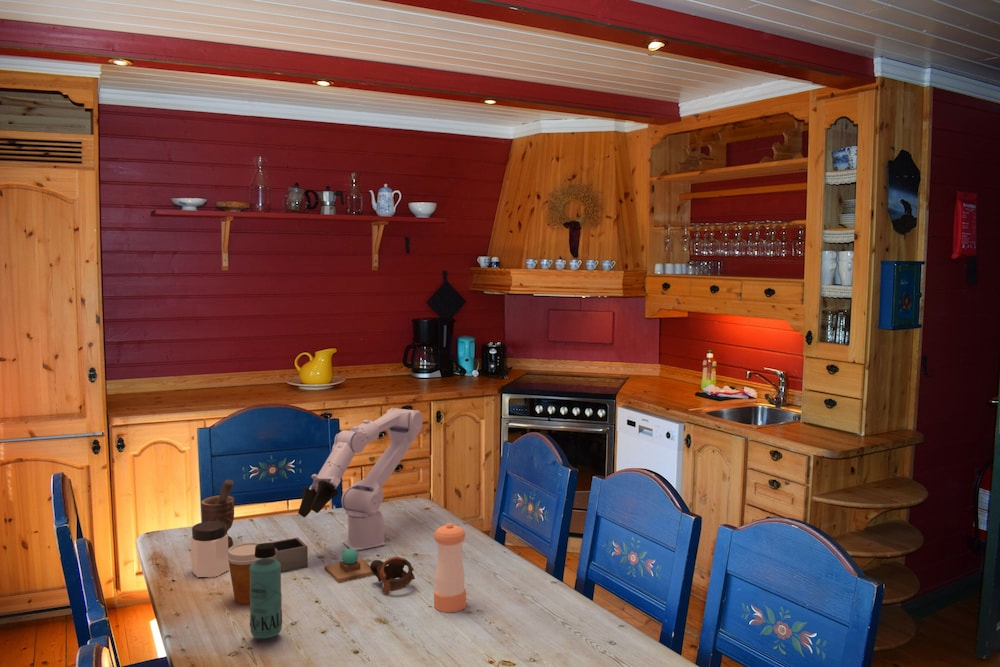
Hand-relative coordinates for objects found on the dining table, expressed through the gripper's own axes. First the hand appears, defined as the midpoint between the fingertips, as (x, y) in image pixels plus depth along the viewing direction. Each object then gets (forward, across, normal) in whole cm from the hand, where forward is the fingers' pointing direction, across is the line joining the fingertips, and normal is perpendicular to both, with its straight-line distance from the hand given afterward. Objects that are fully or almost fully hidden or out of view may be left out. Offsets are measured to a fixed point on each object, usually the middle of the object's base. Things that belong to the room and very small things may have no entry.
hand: (307, 513), depth 199 cm
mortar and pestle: (+9, -34, -6) cm, 36 cm away
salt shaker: (+10, +32, +31) cm, 45 cm away
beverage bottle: (+34, +21, 0) cm, 40 cm away
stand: (+7, +2, +17) cm, 18 cm away
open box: (+10, -12, +6) cm, 17 cm away
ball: (+4, +3, +14) cm, 15 cm away
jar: (+20, -20, -8) cm, 29 cm away
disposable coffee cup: (+25, +1, -2) cm, 25 cm away
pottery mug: (+9, +15, +23) cm, 29 cm away
